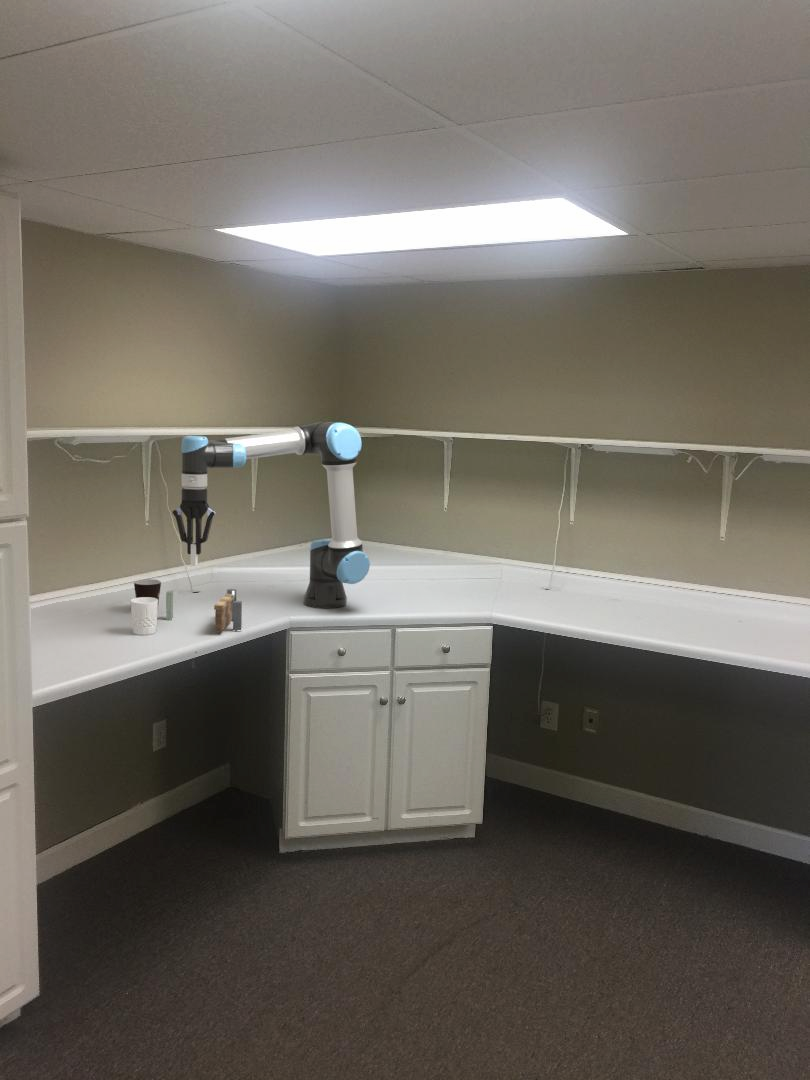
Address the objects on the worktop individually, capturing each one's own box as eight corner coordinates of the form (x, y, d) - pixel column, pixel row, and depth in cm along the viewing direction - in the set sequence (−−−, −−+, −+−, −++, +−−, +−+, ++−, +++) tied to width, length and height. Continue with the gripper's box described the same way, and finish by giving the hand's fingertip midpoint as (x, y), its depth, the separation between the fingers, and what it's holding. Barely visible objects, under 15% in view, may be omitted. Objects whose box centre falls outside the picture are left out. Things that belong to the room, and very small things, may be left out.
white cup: (132, 636, 256) (132, 603, 254) (129, 629, 263) (129, 597, 261) (159, 634, 259) (159, 602, 257) (156, 628, 266) (156, 596, 265)
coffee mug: (153, 615, 281) (153, 585, 279) (129, 613, 282) (128, 583, 281) (169, 607, 292) (170, 578, 290) (146, 605, 294) (146, 576, 292)
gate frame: (245, 619, 281) (246, 589, 280) (240, 631, 267) (241, 599, 265) (167, 617, 279) (168, 587, 277) (158, 629, 264) (158, 597, 263)
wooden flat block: (225, 619, 277) (226, 594, 275) (233, 619, 277) (233, 594, 275) (213, 632, 261) (214, 605, 260) (221, 632, 261) (222, 606, 259)
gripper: (169, 488, 256) (169, 566, 260) (213, 489, 256) (212, 568, 260) (176, 485, 263) (176, 561, 267) (218, 487, 263) (218, 563, 267)
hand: (194, 564), depth 263 cm, fingers closed
